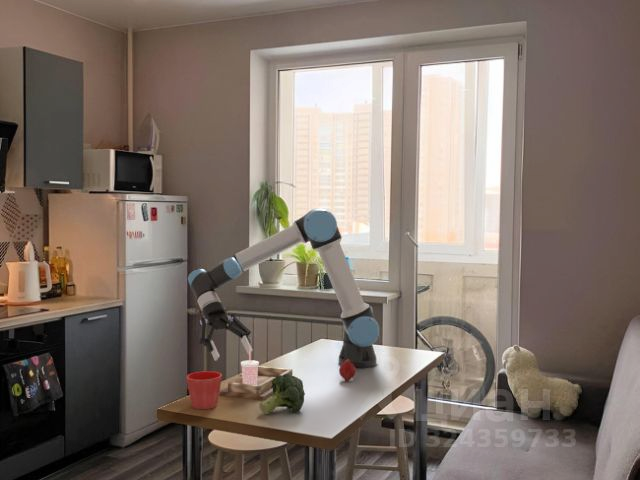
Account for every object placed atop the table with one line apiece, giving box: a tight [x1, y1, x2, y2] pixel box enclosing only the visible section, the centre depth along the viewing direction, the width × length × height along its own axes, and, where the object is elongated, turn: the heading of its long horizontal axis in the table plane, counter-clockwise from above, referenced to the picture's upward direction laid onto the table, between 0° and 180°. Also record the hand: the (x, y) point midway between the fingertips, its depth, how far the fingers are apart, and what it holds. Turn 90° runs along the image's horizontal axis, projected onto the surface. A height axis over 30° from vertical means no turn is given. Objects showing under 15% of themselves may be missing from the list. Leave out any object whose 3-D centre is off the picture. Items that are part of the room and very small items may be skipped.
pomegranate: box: [338, 359, 356, 382], centre depth 238 cm, size 6×6×8 cm
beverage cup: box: [240, 346, 260, 385], centre depth 222 cm, size 6×6×14 cm
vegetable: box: [258, 373, 306, 416], centre depth 202 cm, size 12×13×15 cm
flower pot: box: [186, 370, 223, 410], centre depth 208 cm, size 11×11×10 cm
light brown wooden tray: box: [219, 365, 293, 401], centre depth 229 cm, size 16×26×4 cm, turn 160°
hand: (234, 355), depth 229 cm, fingers open, 13 cm apart
